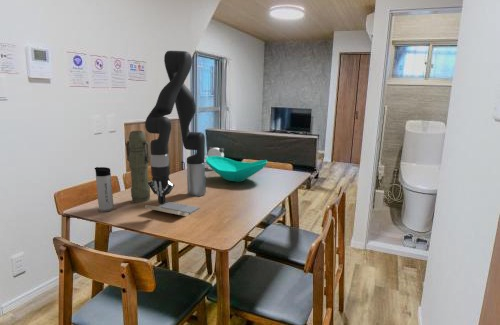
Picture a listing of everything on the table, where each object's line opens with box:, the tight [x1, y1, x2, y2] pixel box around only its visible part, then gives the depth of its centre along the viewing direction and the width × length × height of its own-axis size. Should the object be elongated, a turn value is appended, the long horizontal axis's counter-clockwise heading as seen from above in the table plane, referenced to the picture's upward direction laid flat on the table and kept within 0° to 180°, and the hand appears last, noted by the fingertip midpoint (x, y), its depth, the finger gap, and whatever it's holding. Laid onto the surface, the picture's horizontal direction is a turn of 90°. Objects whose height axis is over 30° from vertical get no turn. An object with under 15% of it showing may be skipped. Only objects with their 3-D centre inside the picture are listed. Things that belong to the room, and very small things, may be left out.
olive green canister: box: [125, 130, 151, 204], centre depth 162 cm, size 9×12×35 cm
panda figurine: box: [207, 146, 225, 171], centre depth 237 cm, size 12×11×15 cm
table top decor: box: [205, 156, 268, 183], centre depth 205 cm, size 40×28×13 cm
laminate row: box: [157, 201, 201, 215], centre depth 153 cm, size 8×18×2 cm, turn 64°
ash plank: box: [144, 204, 190, 217], centre depth 146 cm, size 8×18×2 cm, turn 64°
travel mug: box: [94, 166, 115, 213], centre depth 151 cm, size 6×7×20 cm
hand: (161, 203), depth 142 cm, fingers closed
